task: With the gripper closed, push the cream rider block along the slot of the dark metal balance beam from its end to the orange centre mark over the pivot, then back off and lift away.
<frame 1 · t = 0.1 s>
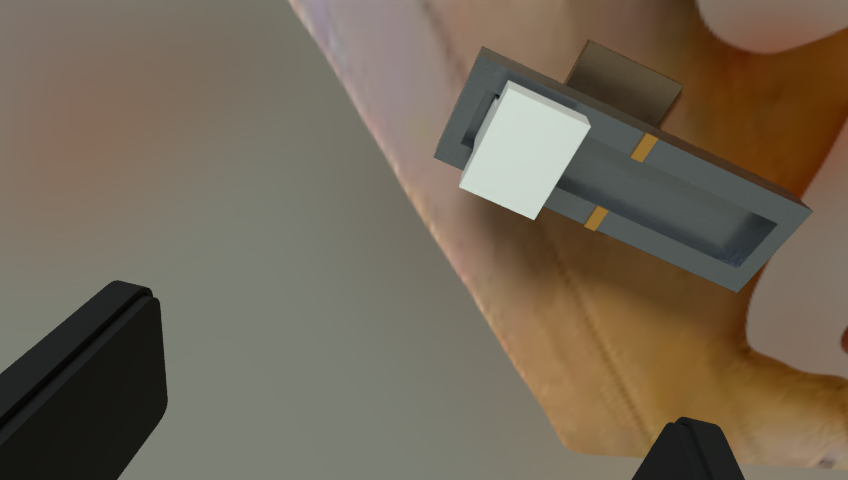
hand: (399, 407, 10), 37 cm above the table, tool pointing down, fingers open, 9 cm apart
rider: (520, 144, 32), point 13 cm above the table, slide at -7.0 cm
balance beam: (592, 129, 43), on the table
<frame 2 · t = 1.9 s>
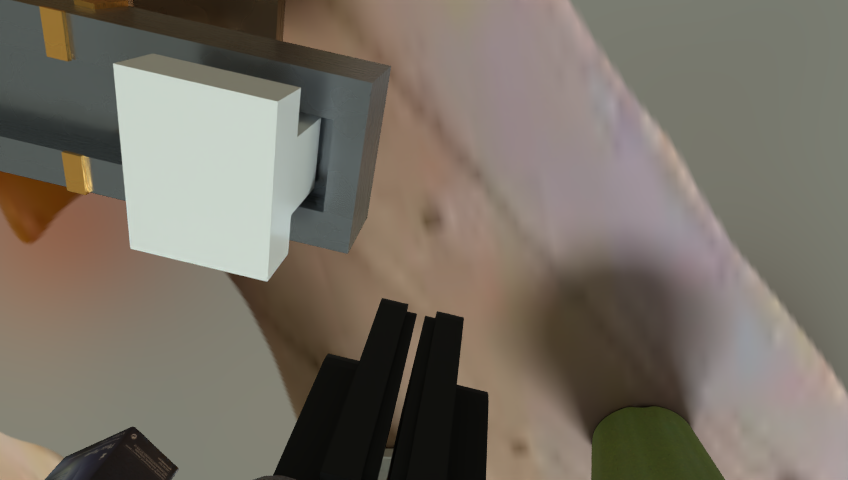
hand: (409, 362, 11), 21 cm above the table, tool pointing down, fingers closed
small box: (122, 459, 49), on the table
rider: (230, 158, 19), point 13 cm above the table, slide at -7.0 cm
balance beam: (213, 60, 30), on the table
plant pot: (639, 434, 39), on the table
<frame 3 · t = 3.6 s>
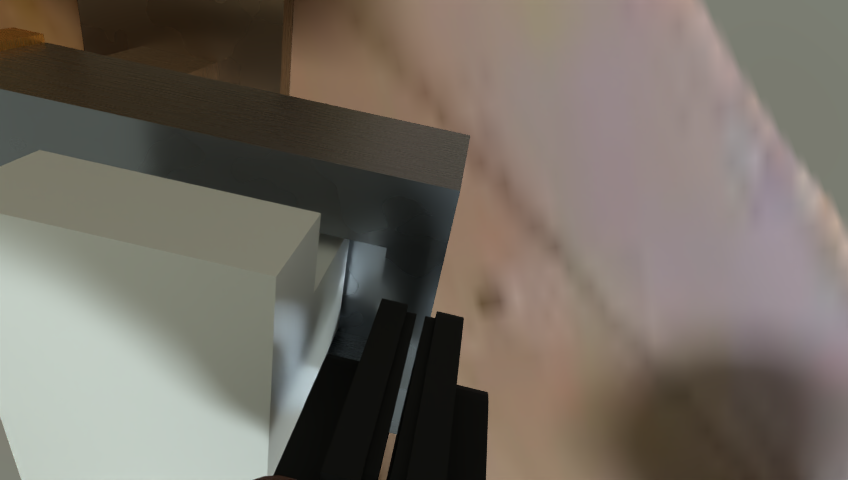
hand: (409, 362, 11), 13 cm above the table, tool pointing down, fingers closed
rider: (196, 315, 11), point 13 cm above the table, slide at -6.8 cm, touching gripper
balance beam: (196, 98, 22), on the table
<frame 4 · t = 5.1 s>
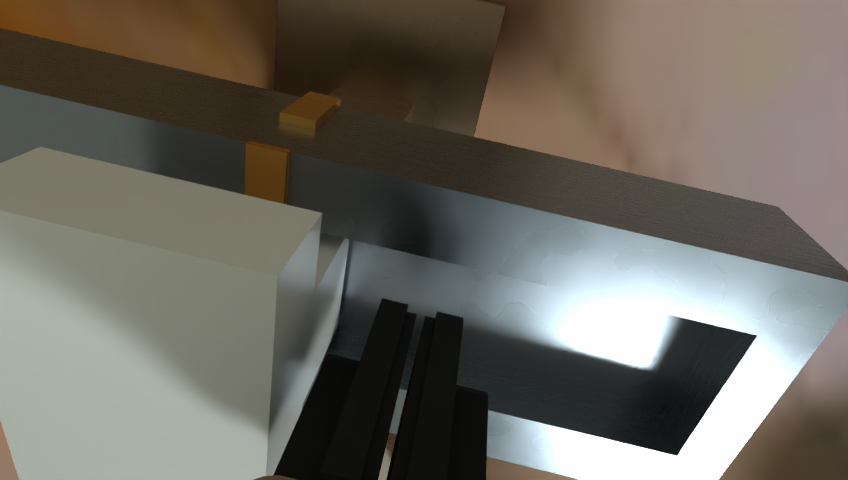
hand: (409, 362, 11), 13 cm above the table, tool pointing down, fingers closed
rider: (196, 313, 11), point 13 cm above the table, slide at 1.0 cm, touching gripper
balance beam: (374, 137, 22), on the table
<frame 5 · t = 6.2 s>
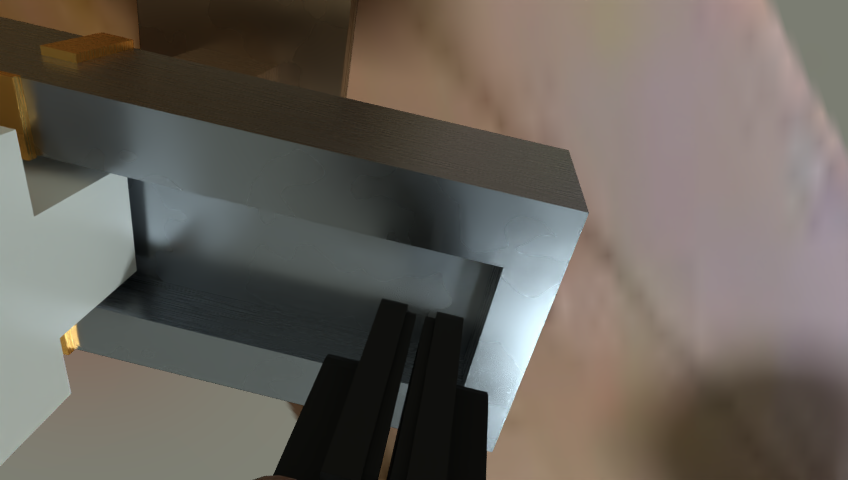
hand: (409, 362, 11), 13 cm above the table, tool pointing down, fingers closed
balance beam: (250, 100, 22), on the table
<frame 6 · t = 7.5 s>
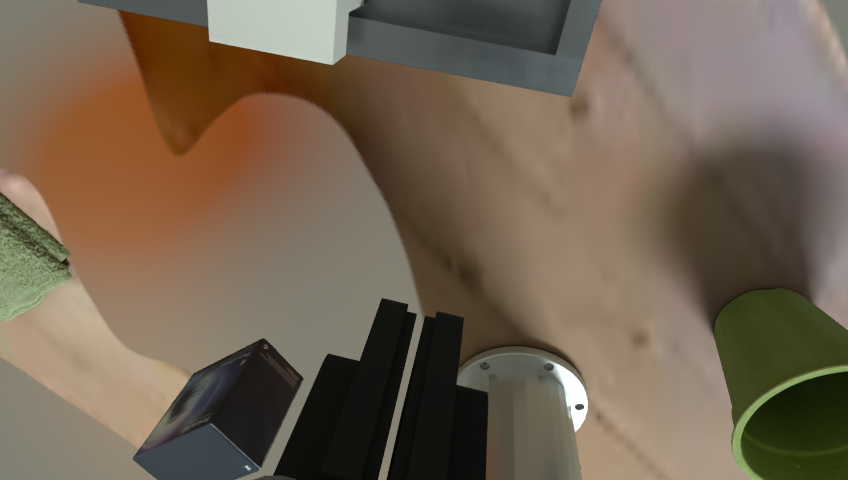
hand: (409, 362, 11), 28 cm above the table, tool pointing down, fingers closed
small box: (248, 373, 52), on the table
plant pot: (759, 319, 41), on the table
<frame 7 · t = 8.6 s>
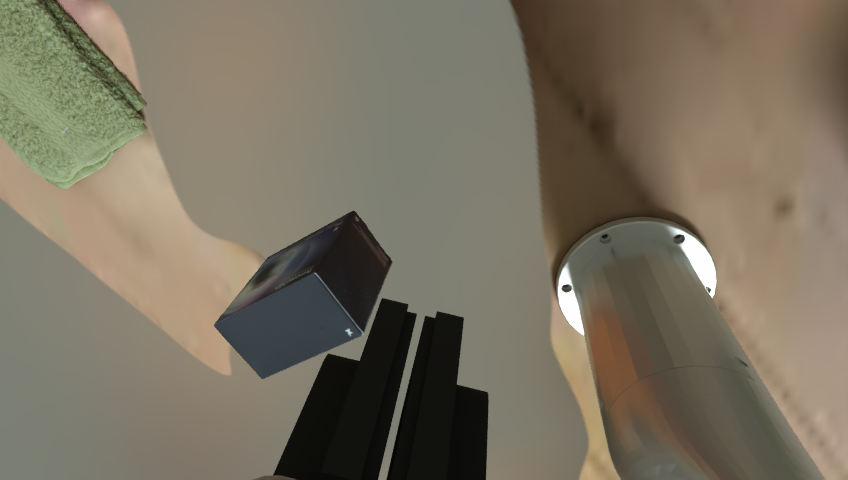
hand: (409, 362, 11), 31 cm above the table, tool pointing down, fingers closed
small box: (329, 257, 48), on the table
washcloth: (41, 68, 43), on the table
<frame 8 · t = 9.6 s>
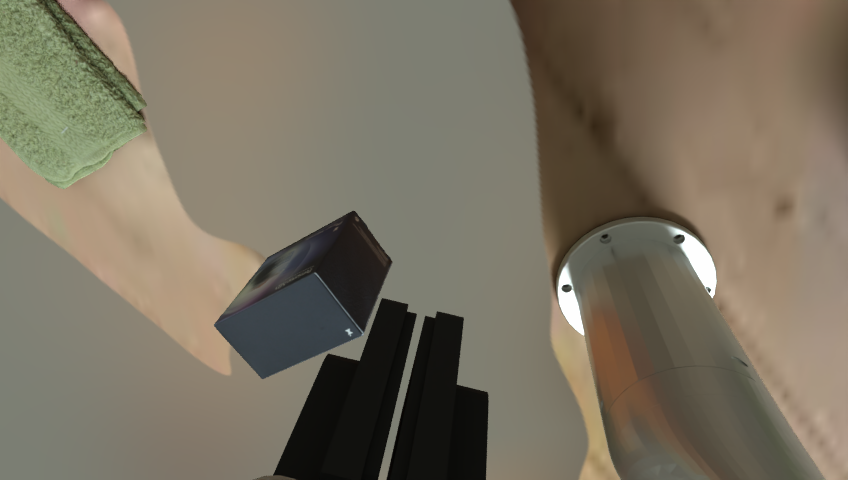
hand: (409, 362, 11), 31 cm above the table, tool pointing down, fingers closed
small box: (329, 257, 48), on the table
washcloth: (41, 67, 43), on the table
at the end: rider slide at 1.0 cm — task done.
